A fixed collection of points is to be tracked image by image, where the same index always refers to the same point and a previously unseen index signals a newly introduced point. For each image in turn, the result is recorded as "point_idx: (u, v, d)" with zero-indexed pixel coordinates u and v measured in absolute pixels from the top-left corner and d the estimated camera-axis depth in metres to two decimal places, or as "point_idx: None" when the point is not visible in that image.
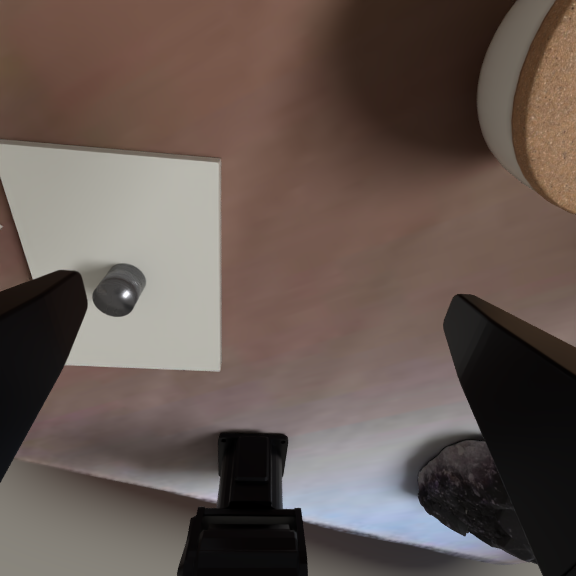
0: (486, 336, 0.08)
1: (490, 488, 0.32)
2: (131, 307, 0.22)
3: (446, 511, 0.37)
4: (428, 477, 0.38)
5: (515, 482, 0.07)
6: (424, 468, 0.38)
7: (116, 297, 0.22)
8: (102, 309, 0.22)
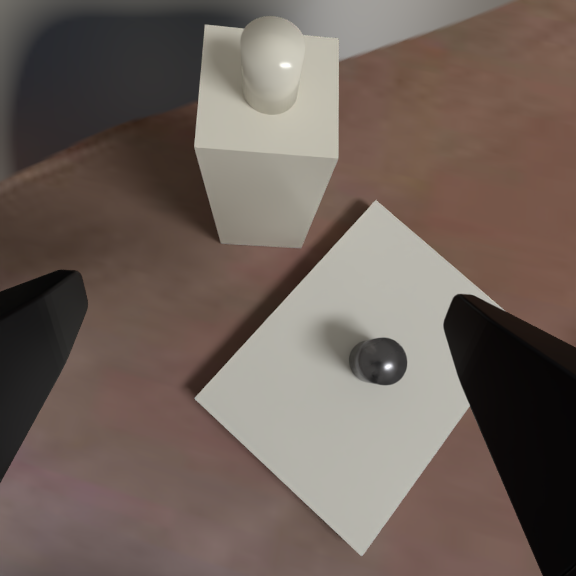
0: (486, 336, 0.08)
1: None
2: (394, 380, 0.19)
3: None
4: None
5: (515, 482, 0.07)
6: None
7: (391, 360, 0.19)
8: (364, 361, 0.19)
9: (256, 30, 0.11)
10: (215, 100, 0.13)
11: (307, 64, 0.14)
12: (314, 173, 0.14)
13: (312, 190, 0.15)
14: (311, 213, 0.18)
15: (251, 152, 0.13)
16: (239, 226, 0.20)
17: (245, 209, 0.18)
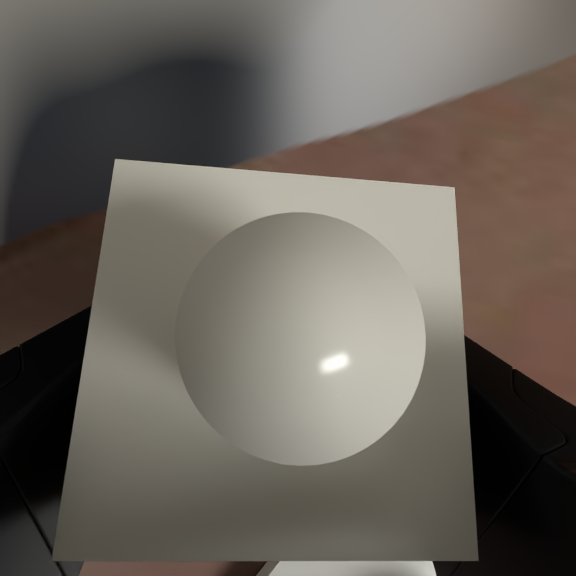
0: None
1: None
2: None
3: None
4: None
5: None
6: None
7: None
8: None
9: (240, 275, 0.03)
10: (129, 388, 0.05)
11: None
12: None
13: None
14: None
15: (227, 559, 0.04)
16: None
17: None
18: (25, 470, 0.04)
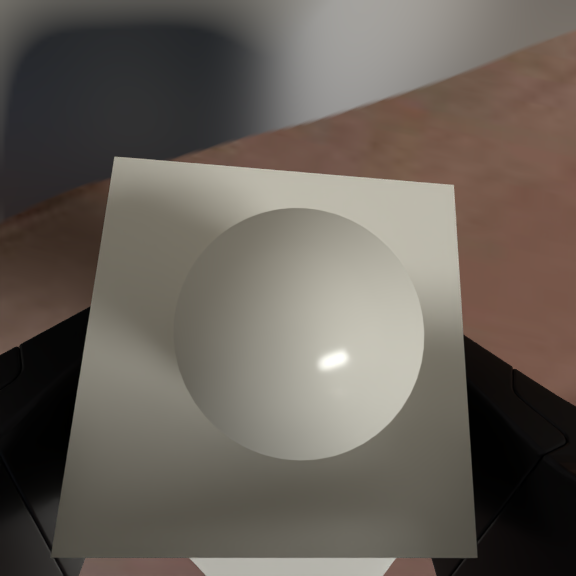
0: None
1: None
2: None
3: None
4: None
5: None
6: None
7: None
8: None
9: (239, 270, 0.03)
10: (128, 385, 0.05)
11: None
12: None
13: None
14: None
15: (226, 555, 0.04)
16: None
17: None
18: (25, 469, 0.04)
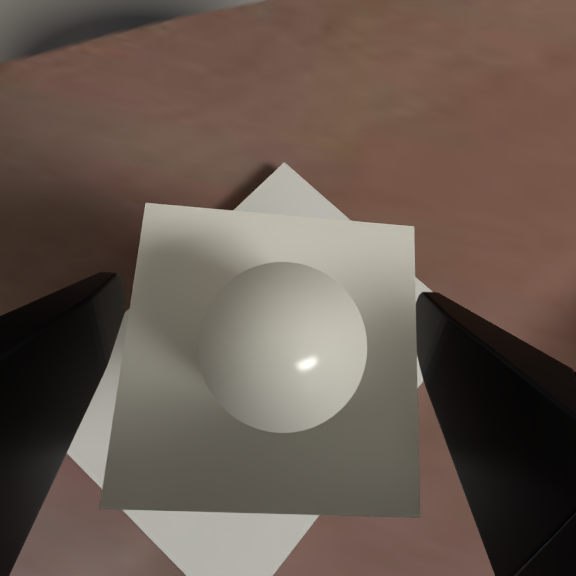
0: (446, 334, 0.08)
1: None
2: None
3: None
4: None
5: (471, 481, 0.07)
6: None
7: None
8: None
9: (241, 305, 0.04)
10: (156, 382, 0.06)
11: (351, 285, 0.07)
12: None
13: None
14: None
15: (229, 511, 0.06)
16: None
17: None
18: None
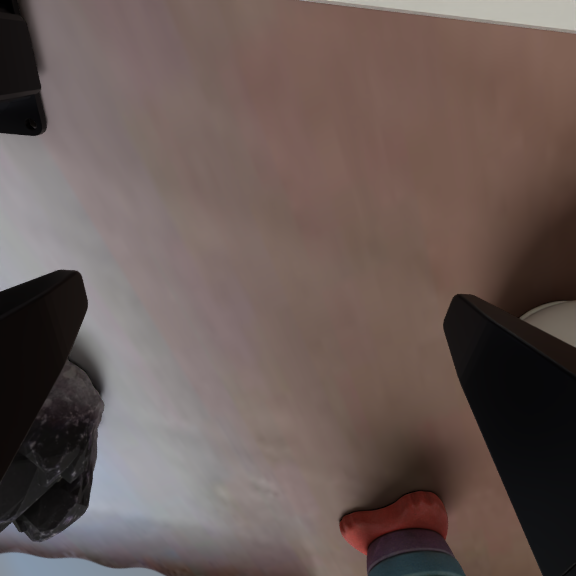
0: (486, 336, 0.08)
1: (50, 430, 0.22)
2: None
3: None
4: None
5: (515, 482, 0.07)
6: None
7: None
8: None
9: None
10: None
11: None
12: None
13: None
14: None
15: None
16: None
17: None
18: None
